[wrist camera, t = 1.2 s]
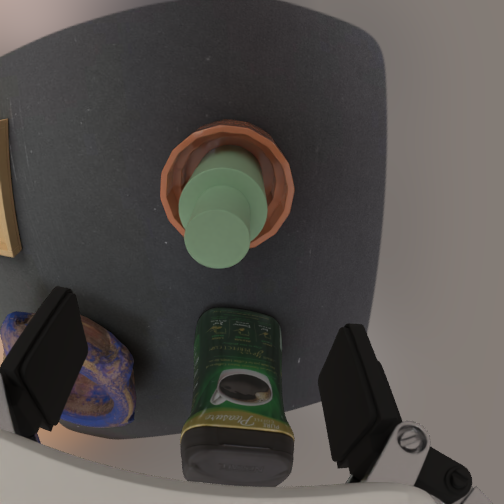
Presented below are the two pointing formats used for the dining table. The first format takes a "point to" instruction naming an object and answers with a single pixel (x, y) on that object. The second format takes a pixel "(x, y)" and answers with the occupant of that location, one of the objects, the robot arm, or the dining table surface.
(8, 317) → the bowl
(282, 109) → the dining table surface
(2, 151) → the tray
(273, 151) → the clay bowl
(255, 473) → the coffee jar
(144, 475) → the robot arm
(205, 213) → the bottle
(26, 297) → the dining table surface
